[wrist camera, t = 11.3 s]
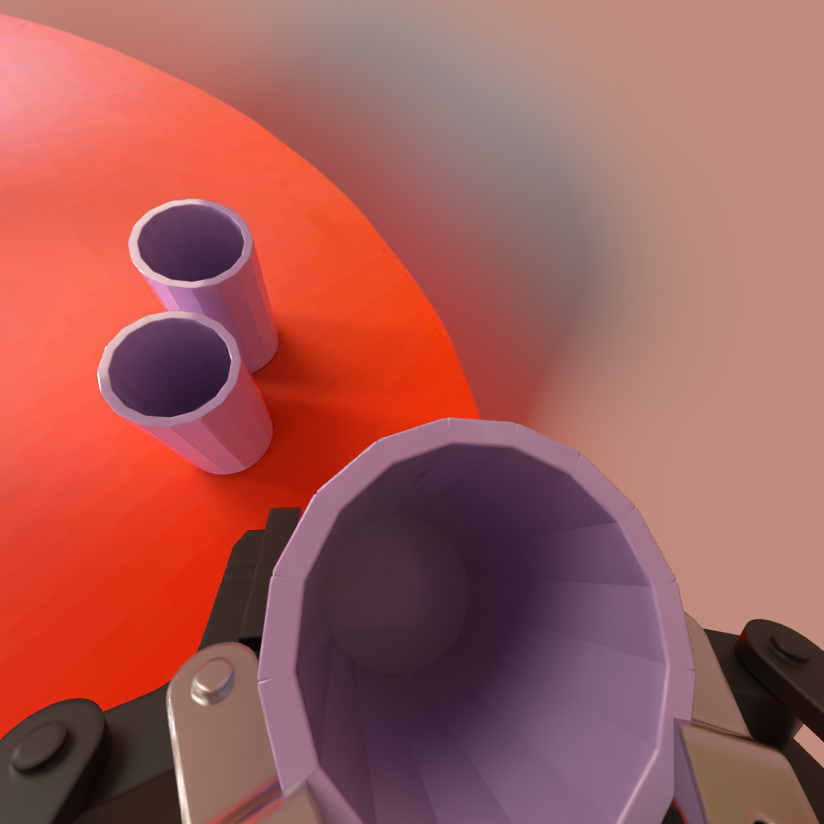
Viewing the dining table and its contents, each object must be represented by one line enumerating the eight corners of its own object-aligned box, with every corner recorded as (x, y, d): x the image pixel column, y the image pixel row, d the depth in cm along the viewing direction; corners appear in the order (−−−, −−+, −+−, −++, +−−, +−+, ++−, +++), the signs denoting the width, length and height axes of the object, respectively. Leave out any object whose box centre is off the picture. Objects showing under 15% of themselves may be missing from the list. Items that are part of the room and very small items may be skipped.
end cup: (278, 588, 14) (155, 626, 5) (399, 476, 16) (478, 352, 7) (392, 728, 13) (518, 1122, 4) (505, 590, 15) (760, 624, 6)
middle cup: (162, 428, 27) (70, 356, 18) (238, 377, 29) (191, 290, 20) (216, 493, 26) (148, 453, 17) (290, 436, 28) (266, 373, 19)
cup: (178, 335, 29) (104, 229, 20) (247, 295, 31) (208, 183, 22) (227, 391, 28) (173, 308, 19) (294, 346, 31) (275, 251, 21)
